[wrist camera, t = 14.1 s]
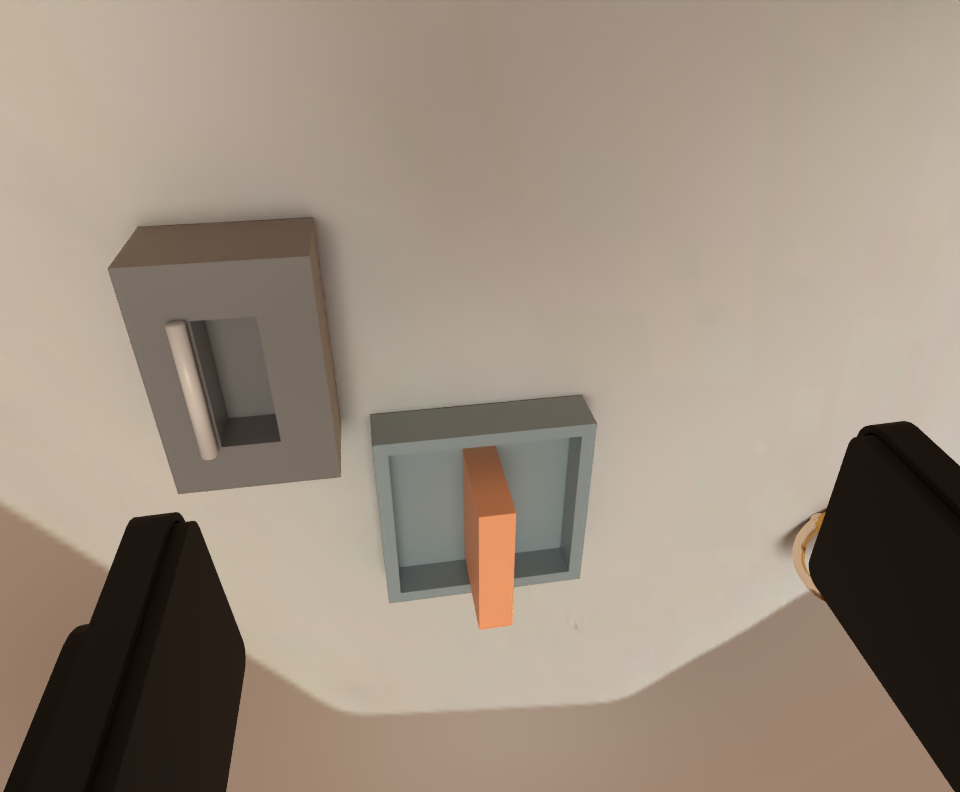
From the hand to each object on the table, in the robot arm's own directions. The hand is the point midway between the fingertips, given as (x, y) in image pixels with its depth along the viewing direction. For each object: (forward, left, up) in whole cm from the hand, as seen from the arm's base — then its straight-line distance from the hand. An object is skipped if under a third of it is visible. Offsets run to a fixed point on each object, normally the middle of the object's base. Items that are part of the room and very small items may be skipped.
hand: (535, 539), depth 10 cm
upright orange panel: (-3, +27, -23) cm, 35 cm away
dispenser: (+9, +10, -26) cm, 29 cm away
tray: (-3, +22, -26) cm, 34 cm away
